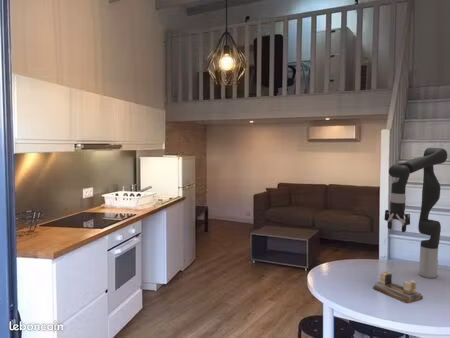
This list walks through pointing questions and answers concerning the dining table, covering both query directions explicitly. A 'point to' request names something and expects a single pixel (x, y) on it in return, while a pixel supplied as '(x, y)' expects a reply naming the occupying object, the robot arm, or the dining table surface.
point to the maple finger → (409, 287)
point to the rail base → (394, 289)
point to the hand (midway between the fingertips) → (396, 230)
